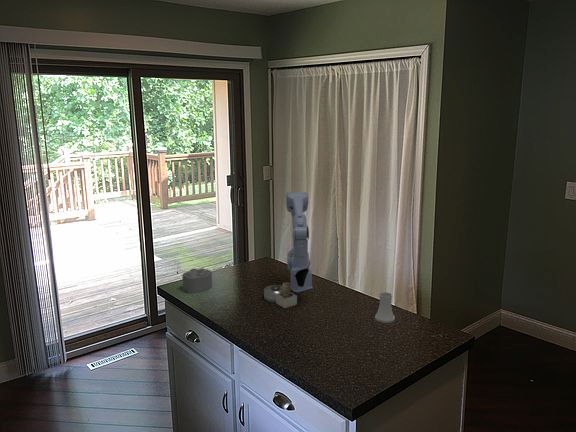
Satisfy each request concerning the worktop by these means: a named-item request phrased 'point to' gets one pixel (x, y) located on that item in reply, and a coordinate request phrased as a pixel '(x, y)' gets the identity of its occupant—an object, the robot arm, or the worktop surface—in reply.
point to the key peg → (286, 289)
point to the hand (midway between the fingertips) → (300, 286)
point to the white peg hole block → (279, 296)
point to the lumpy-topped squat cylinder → (197, 280)
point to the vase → (385, 309)
